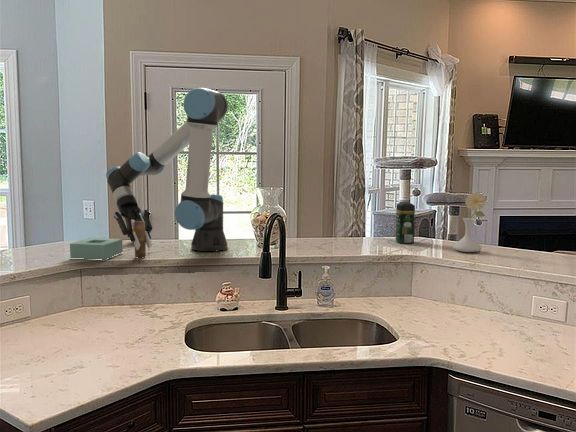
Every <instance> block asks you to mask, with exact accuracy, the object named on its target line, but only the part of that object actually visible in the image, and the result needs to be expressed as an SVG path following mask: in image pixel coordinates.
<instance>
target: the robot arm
mask: <svg viewBox="0 0 576 432" xmlns="http://www.w3.org/2000/svg"><path fill="white" fill-rule="evenodd" d="M182 103H183V104H182V105H183V111H184V113H185V114H186V116H187V118H186V122H184V123H183V124H182V125H181V126H180V127H179V128H177V129H176V131H174V132H173V133H172V134H171V135H170V136H169V137H168V138H167V139H165V140H164V141H163V142H162V143H161V144H159V146H157V147H156V148H155V149H154V150H153V151H152V152H151V153H150V154H148V156H147V155H146V154H144V153H143V152H141V151H137V152H135V153H134V154H133V155H131V156H130V157H129V158H128V159H127V160H126V161H125V162H124V163H123V164H121V166H114V167H112V168H108V170H107V171H106V172H105V177H106V180H107V181H106V182H107V184H108V185H109V186H108V187H109V188H110V190H111V193H112V196H113V199H114V201H115V203H116V206H117V209H118V211H114V215H113V218H114V219H115V220H116V221H117V224H118V227H119V228H120V231H121V233H122V235H123V236H127V237H128V238H129V239H130V241H131V242H132V243H133V245H134V248H135V247H136V250H139V248H140V243H139V241H138V238H137V235H136V233H135V232H133V227H132V221H133V220H134V221H143V220H144V221H145V246H146V247H147V249H151V247H152V246H153V243H152V240H151V239H152V236H151V234H150V233H151V232H152V230H153V226H152V223H151V221H150V217H149V215H148V212H149V211H148V209H144V210H142V209H141V208H140V207H139V205H138V202H137V199H136V197H135V194H134V191H133V190H132V187H131V184H132V183H133V182H134V181H135V180H136V179H137V178H139V177H141V176H155V175H159V174H161V173H162V172H163V171H164V169H165V166H166V165H167V164H169V163H170V162H171V161H172V160H173V159H174V158H175V157H176V156H177V155H179V154H180V153H181V152H182V151H183V150H184V149H186V148H187V147H188V156H187V168H186V179H185V188H184V189H185V190H183V191H182V192H181V194H180V201H179V203H178V204H177V205H176V207H175V211H174V216H175V217H174V218H175V221H176V222H177V224H179V226H180V227H182V228H184V229H185V230H188V231H191V230H193V231H194V234H193V237H192V239H191V245H190V247H191V248H190V249H191V250H192V249H193V250H192V251H194V250H198V251H197V252H199V251H216V250H223V251H225V250H224V249H226V250H228V245H229V244H228V241H227V237H226V235H225V231H224V199H223V195H221V194H212V193H209V181H210V180H209V179H210V169H211V159H212V158H211V156H212V149H213V148H212V147H213V146H212V145H213V136H214V135H213V134H214V130H215V129H217V127H218V123H219V122H220V121H222V119H224V117H225V116H226V114H227V112H228V109H229V104H228V100H227V99H226V97H225V96H224V95H223V94H222V93H221V92H220V91H217V90H214V89H213V90H212V89H210V88H207V87H206V88H205V87H196V88H193V89H191V90H189V91H188V93H186V95H185V96H184V100H183V102H182ZM140 214H141V215H142V216H143V220H142V219H141V216H140ZM124 220H125V221H124ZM131 242H130V243H131ZM216 252H217V251H216Z"/></svg>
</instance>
